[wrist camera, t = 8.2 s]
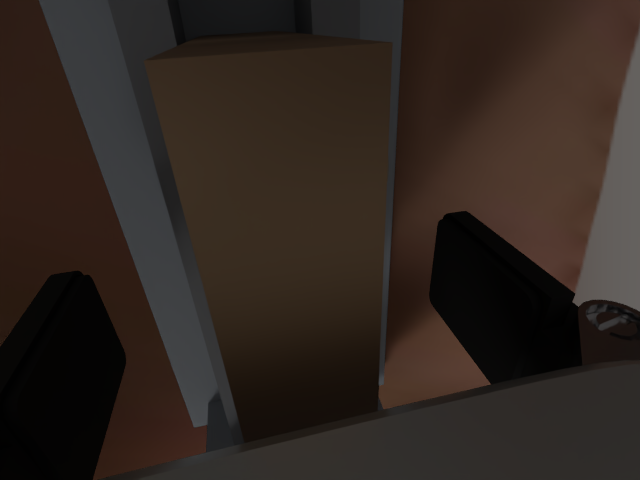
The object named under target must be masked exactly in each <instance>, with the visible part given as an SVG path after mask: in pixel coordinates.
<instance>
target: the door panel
mask: <svg viewBox="0 0 640 480" xmlns="http://www.w3.org/2000/svg"><path fill="white" fill-rule="evenodd" d="M392 47H393V42H384V41H374V40H364V39H354V38H343V37H333V36H323V35H313V34H303V33H292V32H282V31H268V32H253V33H237V34H222V35H206V36H199V37H197V38H194V39H192V40H190V41H187V42H185V43H183V44H181V45H178V46H176V47H174V48H171V49H169V50H167V51H164V52H162V53H160V54H158V55H155V56H153V57H151V58H148V59H146V60H144V64H145V68H146V72H147V75H148V79H149V83H150V87H151V91H152V94H153V98H154V102H155V106H156V110H157V113H158V117H159V121H160V125H161V129H162V132H163V136H164V140H165V144H166V148H167V151H168V155H169V159H170V163H171V167H172V170H173V174H174V178H175V182H176V185H177V189H178V193H179V197H180V201H181V204H182V208H183V212H184V216H185V220H186V223H187V227H188V231H189V235H190V239H191V242H192V246H193V250H194V254H195V258H196V261H197V265H198V269H199V273H200V276H201V280H202V284H203V288H204V292H205V295H206V299H207V303H208V307H209V311H210V314H211V318H212V322H213V326H214V330H215V333H216V337H217V341H218V345H219V349H220V352H221V356H222V360H223V364H224V368H225V371H226V375H227V379H228V383H229V386H230V390H231V394H232V398H233V402H234V405H235V409H236V413H237V417H238V421H239V424H240V428H241V432H242V436H243V440H244V443H248V442H252V441H256V440H260V439H264V438H268V437H272V436H276V435H281V434H285V433H289V432H293V431H297V430H301V429H306V428H310V427H314V426H318V425H322V424H326V423H330V422H335V421H339V420H343V419H347V418H351V417H356V416H360V415H364V414H368V413H372V412H376V411H378V392H379V367H380V342H381V318H382V293H383V268H384V244H385V219H386V195H387V181H388V175H389V157H388V145H389V121H390V96H391V71H392Z"/></svg>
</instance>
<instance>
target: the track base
mask: <svg viewBox="0 0 640 480" xmlns="http://www.w3.org/2000/svg"><path fill="white" fill-rule="evenodd" d="M39 2H40V5H41V7H42V10H43V13H44V16H45V18H46V21H47V24H48V27H49V29H50V32H51V35H52V38H53V40H54V43H55V46H56V49H57V51H58V54H59V57H60V60H61V62H62V65H63V68H64V71H65V73H66V76H67V79H68V82H69V84H70V87H71V90H72V93H73V95H74V98H75V101H76V104H77V107H78V109H79V112H80V115H81V118H82V120H83V123H84V126H85V129H86V131H87V134H88V137H89V140H90V142H91V145H92V148H93V151H94V153H95V156H96V159H97V162H98V164H99V167H100V170H101V173H102V175H103V178H104V181H105V184H106V186H107V189H108V192H109V195H110V197H111V200H112V203H113V206H114V208H115V211H116V214H117V217H118V219H119V222H120V225H121V228H122V230H123V233H124V236H125V239H126V241H127V244H128V247H129V250H130V252H131V255H132V258H133V261H134V263H135V266H136V269H137V272H138V274H139V277H140V280H141V283H142V285H143V288H144V291H145V294H146V296H147V299H148V302H149V305H150V307H151V310H152V313H153V316H154V318H155V321H156V324H157V327H158V329H159V332H160V335H161V338H162V340H163V343H164V346H165V349H166V351H167V354H168V357H169V360H170V362H171V365H172V368H173V371H174V373H175V376H176V379H177V382H178V384H179V387H180V390H181V393H182V395H183V398H184V401H185V404H186V406H187V409H188V412H189V415H190V417H191V420H192V423H193V426H194V428H195V427H199V426H204V425H207V445H206V453H207V452H211V451H215V450H219V449H223V448H227V447H231V446H235V445H239V444H244V440H243V436H242V432H241V428H240V424H239V421H238V417H237V413H236V409H235V405H234V402H233V398H232V394H231V390H230V386H229V383H228V379H227V375H226V371H225V368H224V364H223V360H222V356H221V352H220V349H219V345H218V341H217V337H216V333H215V330H214V326H213V322H212V318H211V314H210V311H209V307H208V303H207V299H206V295H205V292H204V288H203V284H202V280H201V276H200V273H199V269H198V265H197V261H196V258H195V254H194V250H193V246H192V242H191V239H190V235H189V231H188V227H187V223H186V220H185V216H184V212H183V208H182V204H181V201H180V197H179V193H178V189H177V185H176V182H175V178H174V174H173V170H172V167H171V163H170V159H169V155H168V151H167V148H166V144H165V140H164V136H163V132H162V129H161V125H160V121H159V117H158V113H157V110H156V106H155V102H154V98H153V94H152V91H151V87H150V83H149V79H148V75H147V72H146V68H145V64H144V60H146V59H148V58H151V57H153V56H155V55H158V54H160V53H162V52H164V51H167V50H169V49H171V48H174V47H176V46H178V45H181V44H183V43H185V42H187V41H190V40H192V39H194V38H197V37H199V36H206V35H222V34H237V33H253V32H268V31H282V32H292V33H303V34H313V35H323V36H333V37H343V38H354V39H364V40H374V41H384V42H393V47H392V71H391V96H390V121H389V145H388V157H389V175H388V181H387V195H386V219H385V244H384V268H383V293H382V318H381V342H380V367H379V385H383V384H384V366H385V347H386V328H387V309H388V290H389V271H390V252H391V233H392V213H393V194H394V175H395V156H396V137H397V118H398V99H399V80H400V61H401V42H402V23H403V4H404V0H39ZM381 410H384V409H383V407H382V405H381V402H380V400H379V397H378V411H381Z"/></svg>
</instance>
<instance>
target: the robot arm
mask: <svg viewBox="0 0 640 480" xmlns="http://www.w3.org/2000/svg"><path fill="white" fill-rule="evenodd" d="M574 296H575V293H574V292H572V291H571V290H570V289H568V288H567V287H566V286H564V285H563V284H562V283H560V282H559V281H558V280H556V279H555V278H554V277H553V276H551V275H550V274H549V273H547V272H546V271H545V270H543V269H542V268H541V267H539V266H538V265H537V264H536V263H534V262H533V261H532V260H530V259H529V258H528V257H526V256H525V255H524V254H522V253H521V252H520V251H518V250H517V249H516V248H515V247H513V246H512V245H511V244H509V243H508V242H507V241H505V240H504V239H503V238H501V237H500V236H499V235H497V234H496V233H495V232H494V231H492V230H491V229H490V228H488V227H487V226H486V225H484V224H483V223H482V222H480V221H479V220H478V219H476V218H475V217H474V216H473V215H471V214H470V213H469V212H467V211H461V212H455V213H448V214H446V215H444V217H443V219H442V220H440V221H439V222H438V226H437V235H436V243H435V251H434V259H433V267H432V275H431V283H430V292H429V297H430V301H431V304H432V305H433V307H434V308H435V310H436V311H437V312H438V314H439V315H440V316H441V318H442V319H443V320H444V322H445V323H446V324H447V326H448V327H449V328H450V330H451V331H452V332H453V334H454V335H455V336H456V338H457V339H458V340H459V342H460V343H461V344H462V346H463V347H464V348H465V350H466V351H467V352H468V354H469V355H470V356H471V358H472V359H473V360H474V362H475V363H476V364H477V366H478V367H479V369H480V370H481V371H482V373H483V374H484V375H485V377H486V378H487V379H488V381H489V382H490V383H491V385H487V386H483V387H479V388H474V389H470V390H466V391H461V392H457V393H453V394H449V395H444V396H440V397H436V398H432V399H427V400H423V401H419V402H414V403H410V404H406V405H402V406H397V407H393V408H389V409H385V410H381V411H376V412H372V413H368V414H364V415H360V416H356V417H351V418H347V419H343V420H339V421H335V422H330V423H326V424H322V425H318V426H314V427H310V428H306V429H301V430H297V431H293V432H289V433H285V434H281V435H276V436H272V437H268V438H264V439H260V440H256V441H252V442H248V443H244V444H239V445H235V446H231V447H227V448H223V449H219V450H215V451H211V452H207V453H203V454H199V455H195V456H191V457H186V458H182V459H178V460H174V461H170V462H166V463H162V464H158V465H154V466H150V467H146V468H142V469H138V470H134V471H129V472H126V473H122V474H118V475H114V476H110V477H107V478H103V479H99V480H640V312H639V311H638V310H636V309H633V308H631V307H629V306H627V305H624V304H620V303H617V302H613V301H607V300H590V301H586V302H584V303H582V304H581V305H580V306H579V307H578V306H576V305H575V304H574V303H573V302H572V301H573V298H574ZM125 365H126V356H125V352H124V349H123V347H122V345H121V342H120V340H119V338H118V336H117V333H116V331H115V329H114V327H113V324H112V322H111V320H110V318H109V315H108V313H107V311H106V309H105V306H104V304H103V302H102V300H101V297H100V295H99V293H98V291H97V288H96V286H95V284H94V282H93V280H92V278H91V277H90V276H89V275H83V274H82V273H81V272H80V271H72V272H66V273H60V274H54V275H51V276H50V277H49V278H48V279H47V281H46V282H45V284H44V285H43V287H42V288H41V289H40V291H39V292H38V294H37V295H36V297H35V298H34V300H33V301H32V302H31V304H30V305H29V307H28V308H27V310H26V311H25V313H24V314H23V315H22V317H21V318H20V320H19V321H18V323H17V324H16V325H15V327H14V328H13V330H12V331H11V333H10V334H9V336H8V337H7V338H6V340H5V341H4V343H3V344H2V346H1V347H0V480H93V476H94V473H95V469H96V466H97V462H98V459H99V455H100V452H101V448H102V445H103V441H104V438H105V435H106V431H107V428H108V424H109V421H110V417H111V414H112V410H113V407H114V403H115V400H116V397H117V393H118V390H119V386H120V383H121V379H122V376H123V372H124V369H125Z"/></svg>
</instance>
